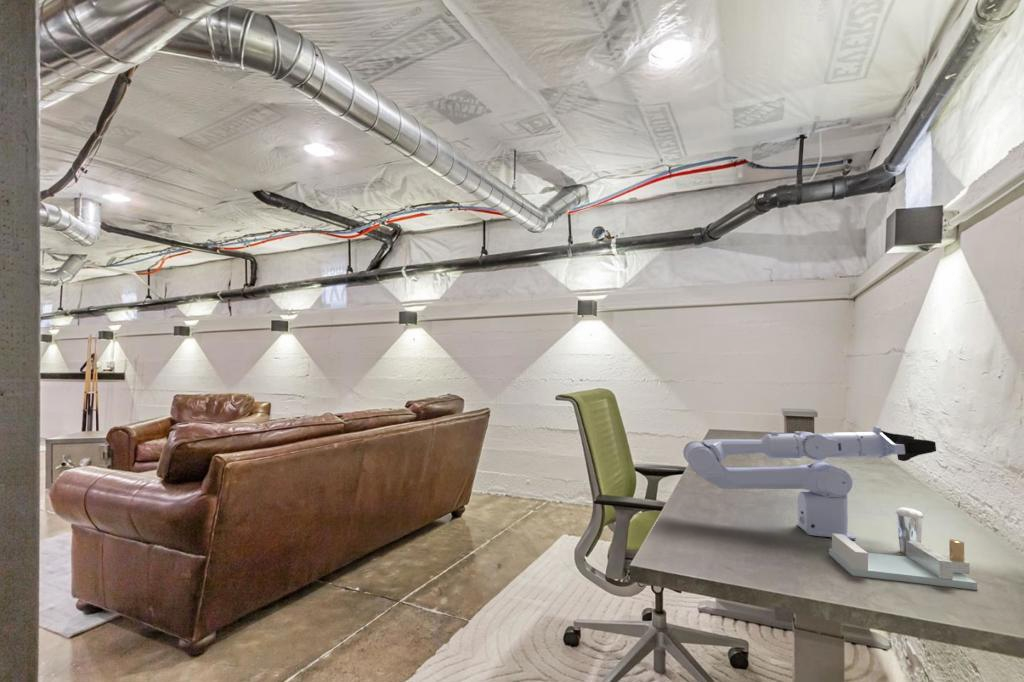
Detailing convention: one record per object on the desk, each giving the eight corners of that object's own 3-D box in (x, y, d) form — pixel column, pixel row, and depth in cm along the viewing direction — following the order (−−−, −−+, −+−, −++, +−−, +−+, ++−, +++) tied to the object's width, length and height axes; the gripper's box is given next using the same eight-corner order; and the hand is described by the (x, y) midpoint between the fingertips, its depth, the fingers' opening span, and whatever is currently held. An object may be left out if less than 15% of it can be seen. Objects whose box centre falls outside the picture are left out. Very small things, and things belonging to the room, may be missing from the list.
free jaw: (939, 578, 84) (939, 547, 84) (906, 556, 93) (906, 529, 94) (983, 583, 82) (983, 552, 82) (945, 560, 92) (945, 532, 92)
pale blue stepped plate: (852, 575, 87) (852, 551, 87) (829, 554, 96) (829, 533, 96) (976, 589, 82) (976, 564, 82) (939, 566, 92) (939, 543, 92)
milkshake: (924, 560, 95) (924, 509, 95) (892, 551, 99) (891, 502, 100) (932, 556, 97) (931, 506, 98) (900, 547, 102) (899, 500, 102)
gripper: (869, 431, 103) (942, 429, 100) (839, 423, 117) (903, 422, 114) (872, 464, 102) (946, 463, 99) (842, 452, 116) (906, 451, 113)
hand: (923, 443), depth 106 cm, fingers open, 7 cm apart
